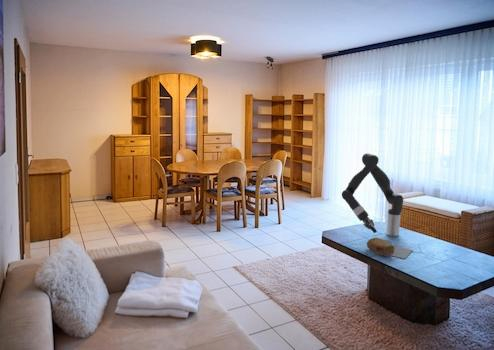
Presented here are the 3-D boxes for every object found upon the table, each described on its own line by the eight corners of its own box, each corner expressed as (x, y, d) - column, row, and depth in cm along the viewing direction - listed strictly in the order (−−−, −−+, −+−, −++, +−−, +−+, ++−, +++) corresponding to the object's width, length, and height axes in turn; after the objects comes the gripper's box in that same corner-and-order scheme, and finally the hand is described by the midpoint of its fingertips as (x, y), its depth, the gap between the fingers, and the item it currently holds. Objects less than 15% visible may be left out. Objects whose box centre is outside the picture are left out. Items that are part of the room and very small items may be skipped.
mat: (384, 244, 299) (384, 243, 299) (412, 251, 287) (412, 250, 287) (375, 252, 283) (375, 251, 283) (404, 259, 271) (404, 258, 271)
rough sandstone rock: (379, 236, 291) (395, 244, 272) (379, 246, 292) (395, 255, 273) (365, 238, 289) (381, 247, 269) (365, 248, 290) (381, 257, 271)
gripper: (360, 211, 290) (376, 231, 285) (367, 208, 301) (382, 227, 295) (353, 217, 294) (368, 237, 289) (360, 214, 305) (375, 232, 300)
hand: (375, 232), depth 292 cm, fingers closed
